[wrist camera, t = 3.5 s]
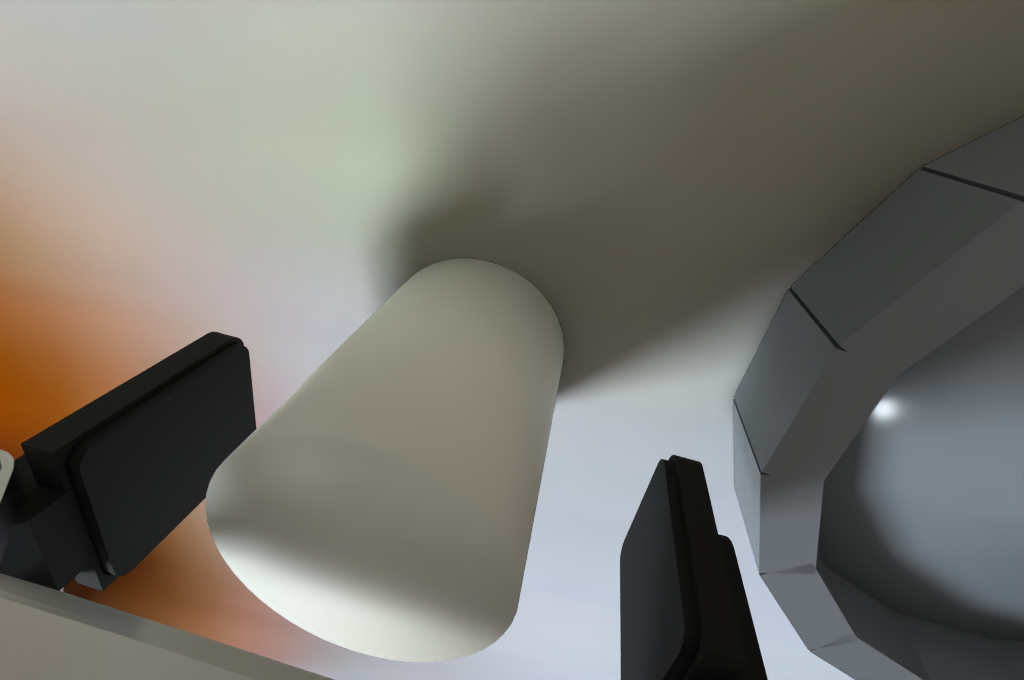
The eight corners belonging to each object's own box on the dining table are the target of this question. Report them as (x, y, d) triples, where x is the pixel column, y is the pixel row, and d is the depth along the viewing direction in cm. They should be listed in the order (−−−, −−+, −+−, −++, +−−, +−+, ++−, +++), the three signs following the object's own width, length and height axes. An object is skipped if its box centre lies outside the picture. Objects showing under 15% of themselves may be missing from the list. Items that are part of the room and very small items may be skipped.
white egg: (392, 238, 12) (180, 394, 6) (584, 284, 12) (553, 496, 6) (384, 393, 15) (226, 611, 9) (543, 435, 14) (491, 693, 8)
